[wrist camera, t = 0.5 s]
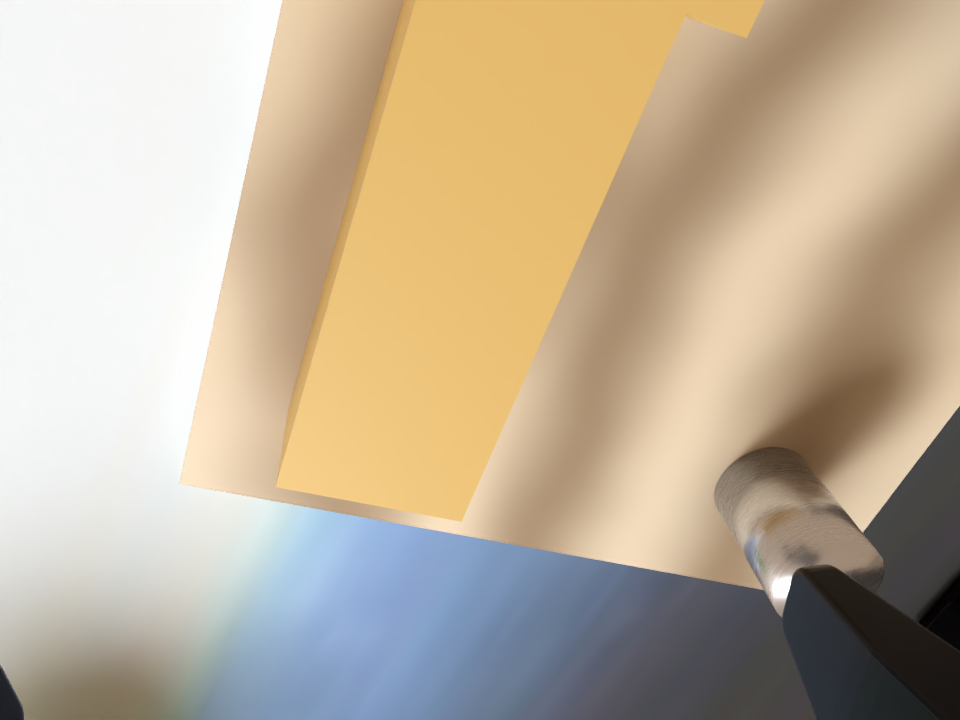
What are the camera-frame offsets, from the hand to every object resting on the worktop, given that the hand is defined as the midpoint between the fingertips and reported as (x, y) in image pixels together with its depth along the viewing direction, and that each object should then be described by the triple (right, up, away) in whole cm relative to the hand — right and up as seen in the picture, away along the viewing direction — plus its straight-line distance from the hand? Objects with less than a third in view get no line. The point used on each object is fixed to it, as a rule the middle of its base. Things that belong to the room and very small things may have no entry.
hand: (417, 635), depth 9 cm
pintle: (+9, -1, +15) cm, 17 cm away
